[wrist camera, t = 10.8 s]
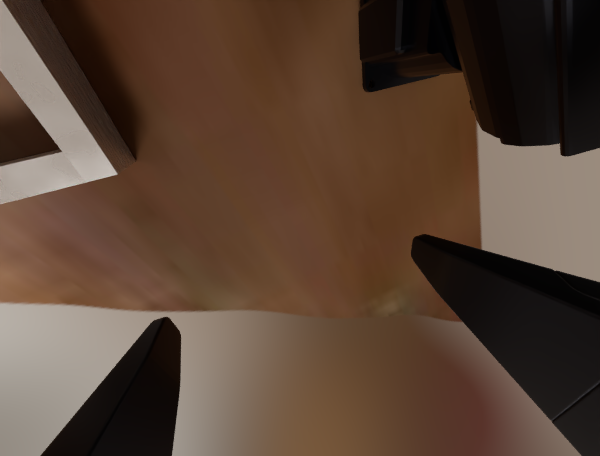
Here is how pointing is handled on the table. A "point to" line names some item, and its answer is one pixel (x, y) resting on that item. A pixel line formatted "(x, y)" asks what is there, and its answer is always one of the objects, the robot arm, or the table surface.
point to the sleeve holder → (54, 107)
